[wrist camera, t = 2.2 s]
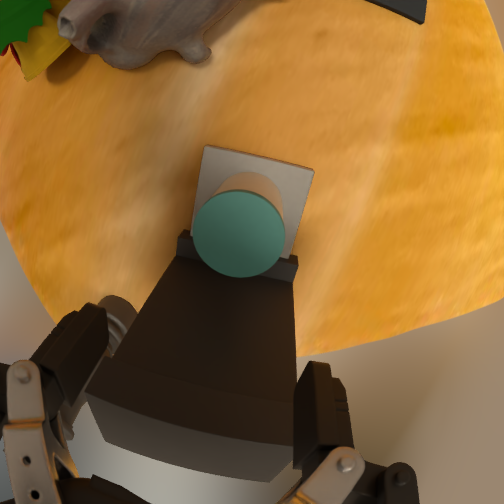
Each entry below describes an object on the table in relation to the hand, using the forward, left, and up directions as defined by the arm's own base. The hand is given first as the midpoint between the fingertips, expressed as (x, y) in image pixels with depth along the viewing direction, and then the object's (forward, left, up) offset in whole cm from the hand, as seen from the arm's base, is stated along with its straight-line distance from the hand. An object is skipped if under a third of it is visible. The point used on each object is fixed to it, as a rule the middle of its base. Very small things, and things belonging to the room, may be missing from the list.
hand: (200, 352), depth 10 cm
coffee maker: (+3, 0, -19) cm, 20 cm away
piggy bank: (-20, -12, -20) cm, 30 cm away
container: (0, 0, -18) cm, 18 cm away
